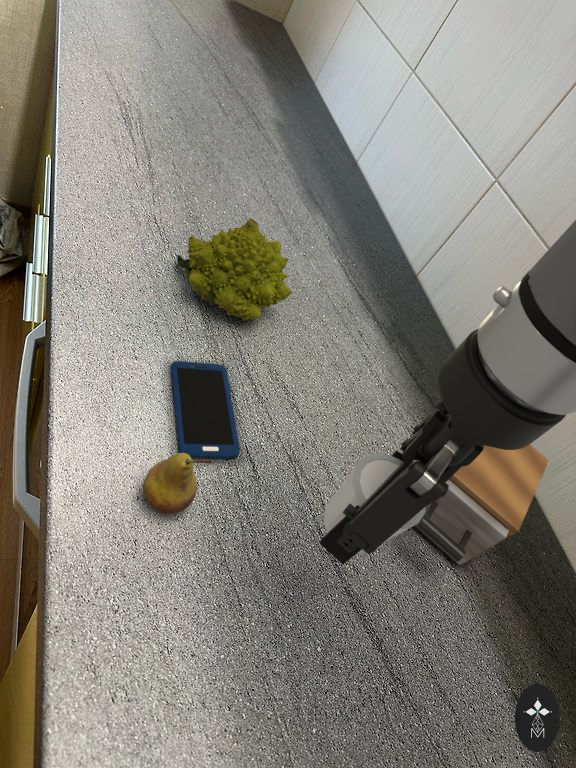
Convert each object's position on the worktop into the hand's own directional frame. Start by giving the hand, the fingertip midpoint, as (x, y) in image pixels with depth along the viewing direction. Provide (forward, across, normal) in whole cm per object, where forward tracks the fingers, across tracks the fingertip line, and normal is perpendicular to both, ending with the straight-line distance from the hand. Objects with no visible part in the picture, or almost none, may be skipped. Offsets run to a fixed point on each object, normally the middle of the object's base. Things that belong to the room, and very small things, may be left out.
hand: (353, 521), depth 52 cm
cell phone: (+15, -9, -21) cm, 27 cm away
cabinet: (+15, -24, +10) cm, 31 cm away
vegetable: (+15, -27, -32) cm, 44 cm away
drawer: (+14, -21, +10) cm, 27 cm away
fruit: (+15, +3, -16) cm, 22 cm away
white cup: (+1, 0, 0) cm, 1 cm away
